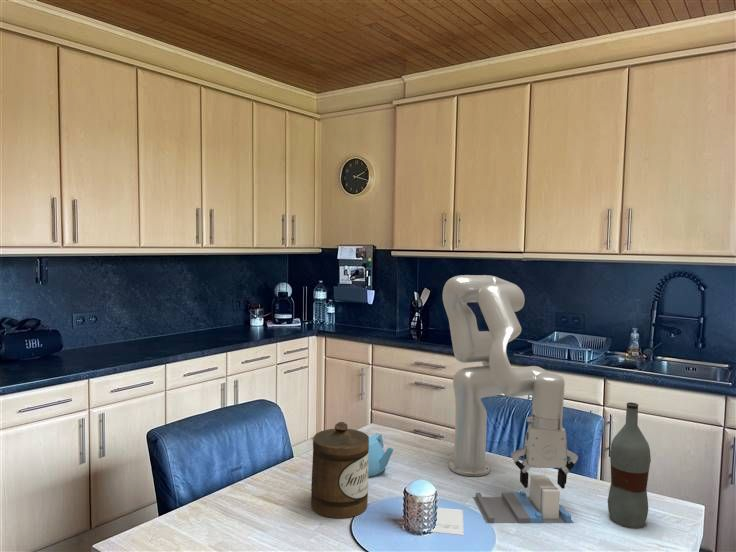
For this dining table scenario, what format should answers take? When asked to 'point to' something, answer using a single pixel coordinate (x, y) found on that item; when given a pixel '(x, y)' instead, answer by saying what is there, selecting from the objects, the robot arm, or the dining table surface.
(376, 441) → the teapot
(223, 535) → the dining table surface
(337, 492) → the wooden container
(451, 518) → the external hard drive
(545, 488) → the block
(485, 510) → the board
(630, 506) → the bottle
